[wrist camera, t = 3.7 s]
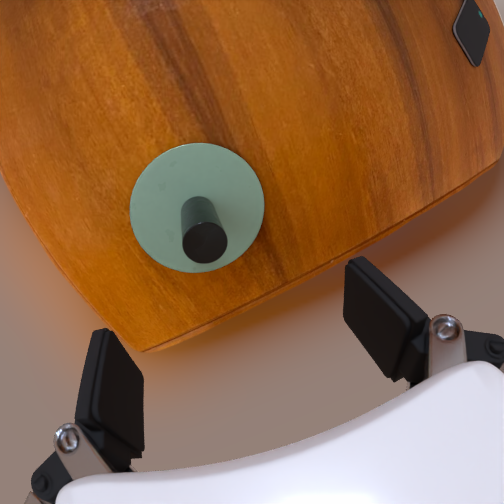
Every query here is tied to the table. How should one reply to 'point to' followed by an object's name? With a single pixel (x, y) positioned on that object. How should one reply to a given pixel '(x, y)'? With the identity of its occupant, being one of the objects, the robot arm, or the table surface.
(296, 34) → the table surface
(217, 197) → the pot lid
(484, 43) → the smartphone
